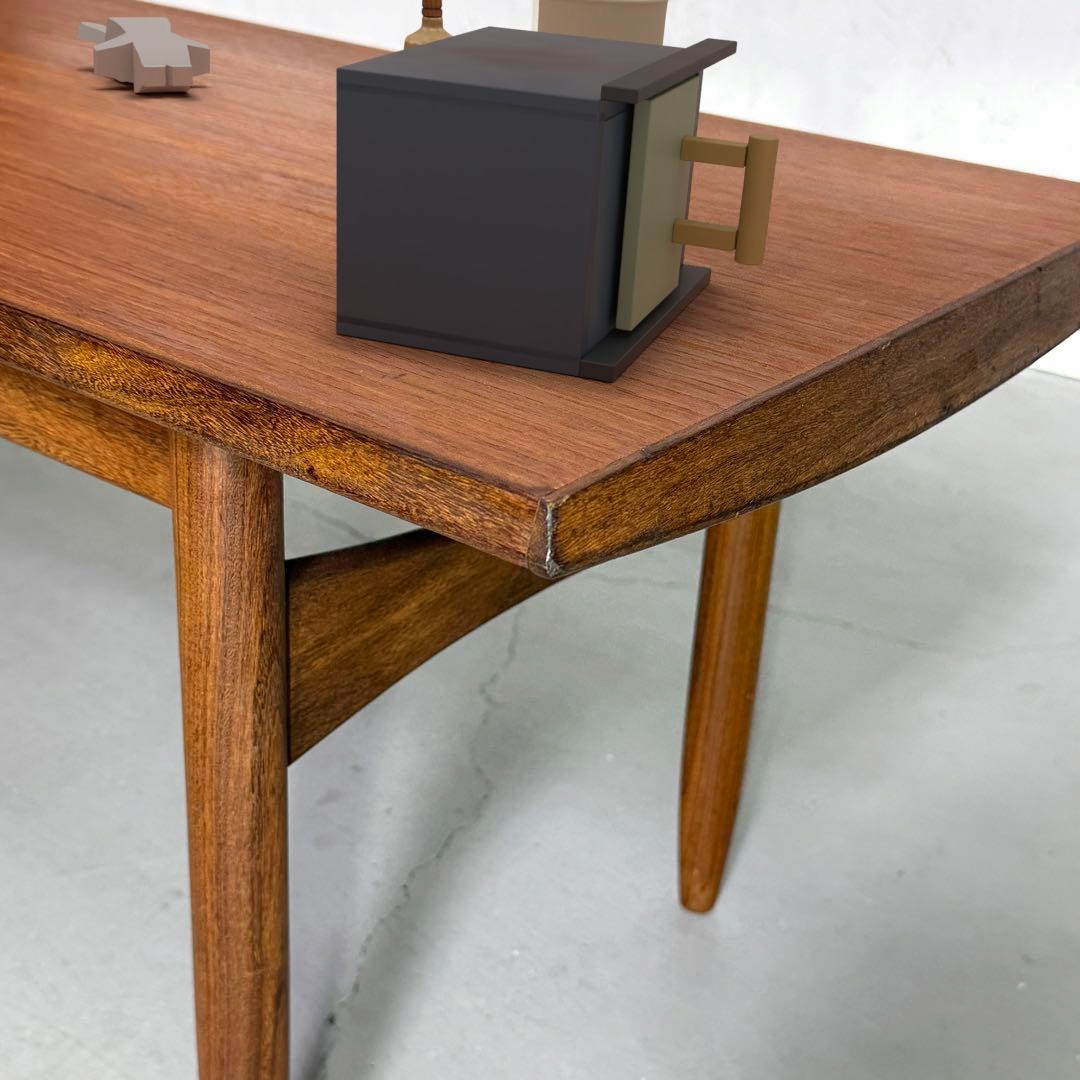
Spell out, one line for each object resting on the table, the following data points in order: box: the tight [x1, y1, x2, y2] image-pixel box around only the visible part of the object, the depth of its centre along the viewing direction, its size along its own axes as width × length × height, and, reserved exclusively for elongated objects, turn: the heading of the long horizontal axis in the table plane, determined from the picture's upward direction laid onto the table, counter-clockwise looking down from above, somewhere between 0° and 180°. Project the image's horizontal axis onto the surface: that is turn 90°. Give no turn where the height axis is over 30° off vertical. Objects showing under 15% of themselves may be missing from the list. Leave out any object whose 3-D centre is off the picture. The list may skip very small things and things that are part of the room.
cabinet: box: [335, 25, 738, 383], centre depth 72 cm, size 14×18×13 cm
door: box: [615, 75, 780, 331], centre depth 69 cm, size 5×8×10 cm, turn 160°
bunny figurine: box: [75, 16, 211, 94], centre depth 124 cm, size 10×5×15 cm
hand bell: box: [403, 0, 453, 50], centre depth 120 cm, size 8×8×16 cm
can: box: [537, 0, 669, 46], centre depth 106 cm, size 9×9×12 cm
